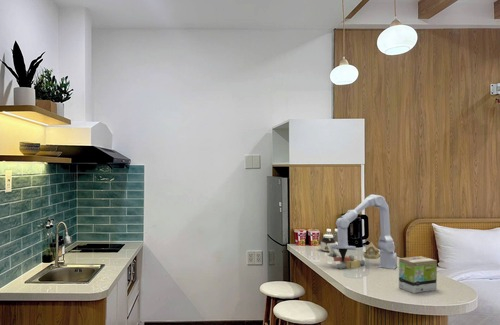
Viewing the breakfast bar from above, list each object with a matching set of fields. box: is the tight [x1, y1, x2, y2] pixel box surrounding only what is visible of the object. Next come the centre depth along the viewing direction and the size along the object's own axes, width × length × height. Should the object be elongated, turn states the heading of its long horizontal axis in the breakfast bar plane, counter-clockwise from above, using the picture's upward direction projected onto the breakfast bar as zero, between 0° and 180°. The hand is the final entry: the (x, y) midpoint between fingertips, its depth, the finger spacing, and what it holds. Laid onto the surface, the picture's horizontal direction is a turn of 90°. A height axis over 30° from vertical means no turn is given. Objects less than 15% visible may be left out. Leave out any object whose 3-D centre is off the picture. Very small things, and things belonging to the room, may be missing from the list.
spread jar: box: [320, 233, 339, 254], centre depth 265 cm, size 12×11×12 cm
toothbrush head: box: [329, 249, 349, 258], centre depth 242 cm, size 5×7×25 cm
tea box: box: [398, 255, 438, 294], centre depth 182 cm, size 15×10×15 cm
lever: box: [333, 255, 355, 262], centre depth 221 cm, size 12×3×2 cm, turn 102°
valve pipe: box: [336, 258, 366, 270], centre depth 222 cm, size 20×6×4 cm, turn 120°
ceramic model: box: [362, 241, 380, 259], centre depth 250 cm, size 14×11×10 cm
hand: (343, 261), depth 219 cm, fingers closed, pressing on lever
